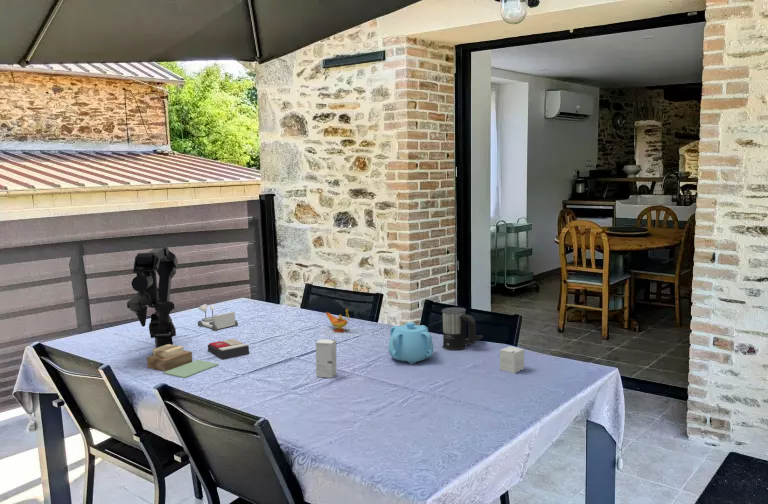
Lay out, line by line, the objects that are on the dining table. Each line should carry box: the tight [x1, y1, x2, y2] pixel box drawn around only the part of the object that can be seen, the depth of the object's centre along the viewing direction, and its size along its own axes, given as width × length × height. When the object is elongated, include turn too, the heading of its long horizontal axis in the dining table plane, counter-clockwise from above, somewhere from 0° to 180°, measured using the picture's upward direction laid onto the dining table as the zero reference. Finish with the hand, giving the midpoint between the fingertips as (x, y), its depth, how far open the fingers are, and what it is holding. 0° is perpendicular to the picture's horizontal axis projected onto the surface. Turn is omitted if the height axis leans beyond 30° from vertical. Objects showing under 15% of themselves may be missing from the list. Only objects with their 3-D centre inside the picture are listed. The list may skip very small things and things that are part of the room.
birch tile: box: [152, 344, 184, 358], centre depth 230 cm, size 8×7×2 cm
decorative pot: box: [388, 321, 434, 364], centre depth 230 cm, size 16×16×14 cm
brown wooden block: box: [146, 349, 193, 372], centre depth 230 cm, size 10×12×4 cm
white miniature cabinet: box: [315, 338, 337, 379], centre depth 213 cm, size 6×4×12 cm
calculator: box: [207, 338, 250, 361], centre depth 244 cm, size 11×4×15 cm
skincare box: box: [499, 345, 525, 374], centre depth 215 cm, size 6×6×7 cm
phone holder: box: [197, 303, 239, 332], centre depth 287 cm, size 18×10×12 cm
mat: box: [162, 359, 220, 379], centre depth 225 cm, size 11×16×1 cm
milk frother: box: [441, 307, 484, 351], centre depth 245 cm, size 14×16×15 cm
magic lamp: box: [324, 308, 350, 333], centre depth 273 cm, size 7×18×11 cm, turn 40°
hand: (152, 327), depth 234 cm, fingers open, 9 cm apart
